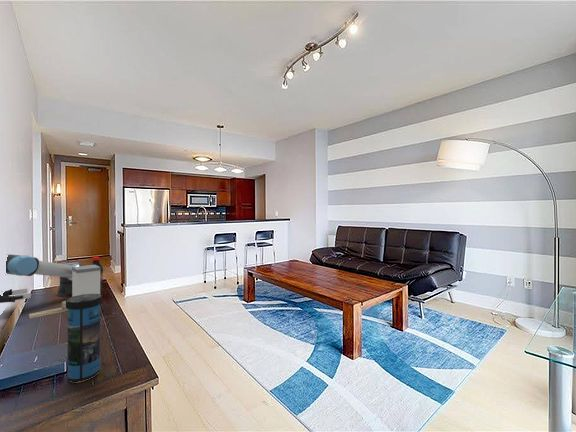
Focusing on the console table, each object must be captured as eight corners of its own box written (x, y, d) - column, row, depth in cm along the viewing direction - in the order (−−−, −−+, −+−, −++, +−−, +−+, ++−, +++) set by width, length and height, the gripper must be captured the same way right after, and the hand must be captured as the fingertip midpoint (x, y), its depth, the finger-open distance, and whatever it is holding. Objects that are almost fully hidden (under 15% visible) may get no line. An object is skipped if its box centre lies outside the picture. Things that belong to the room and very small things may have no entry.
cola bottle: (105, 297, 208) (106, 256, 207) (96, 300, 199) (97, 257, 199) (95, 296, 209) (95, 255, 208) (85, 300, 200) (85, 257, 200)
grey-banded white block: (72, 312, 177) (72, 267, 176) (94, 307, 186) (94, 264, 185) (76, 317, 169) (77, 269, 168) (100, 312, 178) (100, 267, 177)
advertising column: (108, 369, 114) (108, 294, 114) (84, 386, 103) (84, 303, 103) (84, 366, 116) (84, 292, 116) (57, 382, 105) (57, 301, 104)
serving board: (28, 317, 169) (28, 307, 168) (82, 306, 188) (82, 297, 187) (29, 319, 166) (29, 308, 166) (83, 308, 185) (83, 299, 185)
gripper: (-26, 303, 159) (26, 295, 175) (-25, 314, 143) (32, 304, 159) (-26, 289, 159) (26, 282, 175) (-25, 299, 143) (32, 290, 158)
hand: (29, 293), depth 167 cm, fingers open, 13 cm apart
